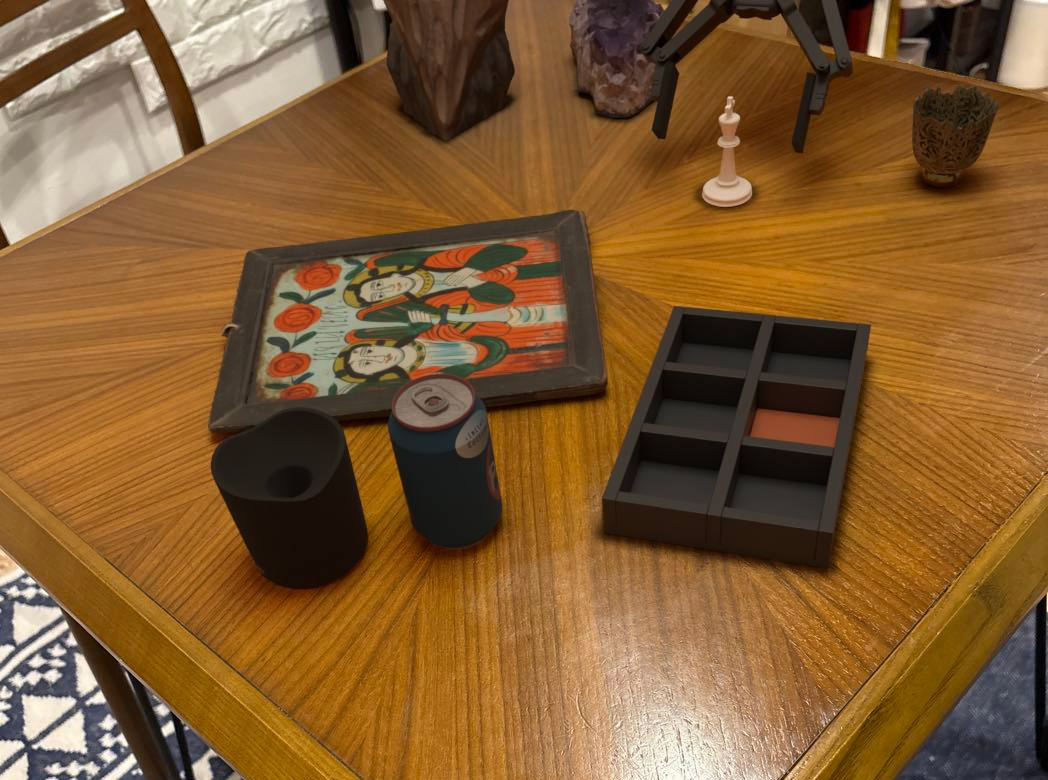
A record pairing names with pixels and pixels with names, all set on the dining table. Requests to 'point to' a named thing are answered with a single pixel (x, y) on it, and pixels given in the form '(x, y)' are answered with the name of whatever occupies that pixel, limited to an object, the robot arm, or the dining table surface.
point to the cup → (950, 132)
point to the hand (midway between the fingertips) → (726, 141)
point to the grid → (741, 435)
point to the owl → (449, 61)
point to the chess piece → (727, 166)
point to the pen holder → (294, 497)
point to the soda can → (445, 460)
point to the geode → (614, 53)
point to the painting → (413, 320)
